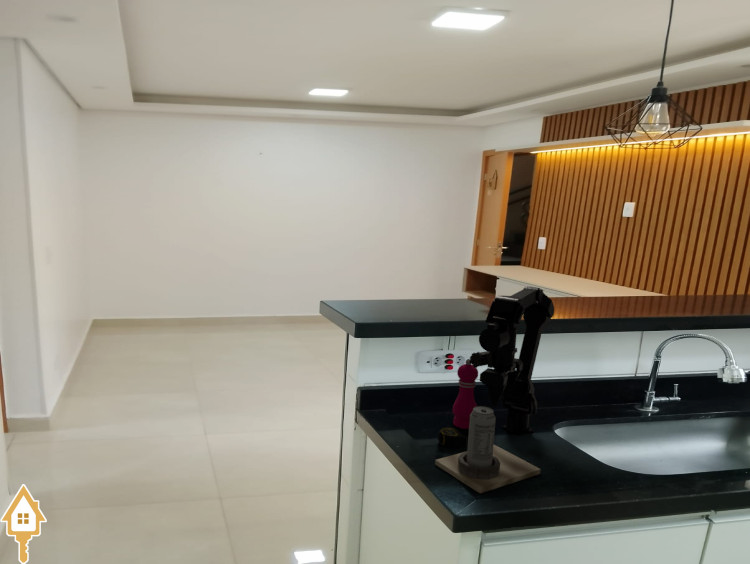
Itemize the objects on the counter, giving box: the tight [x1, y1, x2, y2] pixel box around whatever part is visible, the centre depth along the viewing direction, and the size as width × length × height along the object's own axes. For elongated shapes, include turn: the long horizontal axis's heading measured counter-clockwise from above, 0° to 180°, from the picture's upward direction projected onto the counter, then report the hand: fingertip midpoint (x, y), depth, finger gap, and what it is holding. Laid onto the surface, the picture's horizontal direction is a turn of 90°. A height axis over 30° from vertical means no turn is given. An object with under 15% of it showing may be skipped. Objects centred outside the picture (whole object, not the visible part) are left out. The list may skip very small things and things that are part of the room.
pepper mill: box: [452, 358, 479, 430], centre depth 166 cm, size 7×7×20 cm
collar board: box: [434, 444, 541, 494], centre depth 139 cm, size 20×16×4 cm
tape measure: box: [437, 427, 468, 448], centre depth 153 cm, size 7×7×4 cm
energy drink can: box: [466, 405, 497, 467], centre depth 136 cm, size 6×6×15 cm
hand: (499, 401), depth 150 cm, fingers open, 9 cm apart
